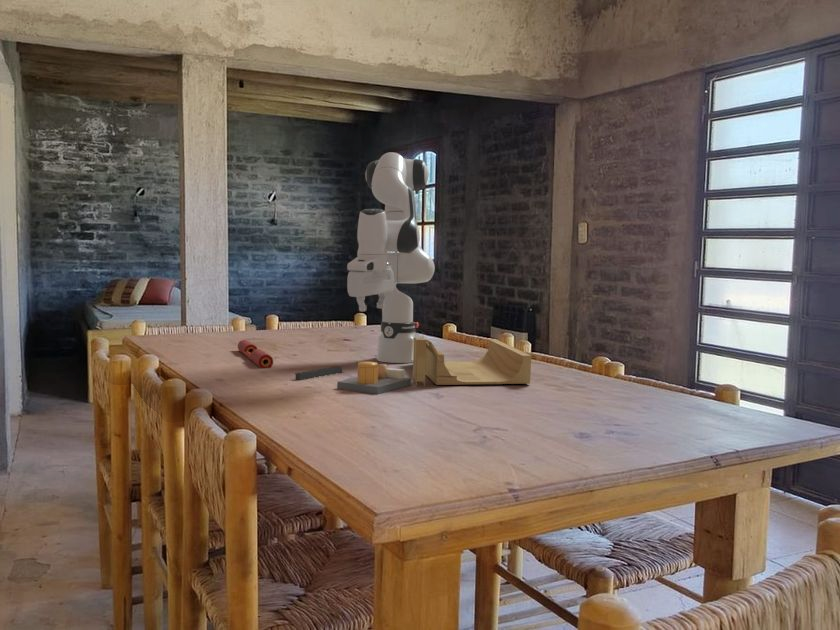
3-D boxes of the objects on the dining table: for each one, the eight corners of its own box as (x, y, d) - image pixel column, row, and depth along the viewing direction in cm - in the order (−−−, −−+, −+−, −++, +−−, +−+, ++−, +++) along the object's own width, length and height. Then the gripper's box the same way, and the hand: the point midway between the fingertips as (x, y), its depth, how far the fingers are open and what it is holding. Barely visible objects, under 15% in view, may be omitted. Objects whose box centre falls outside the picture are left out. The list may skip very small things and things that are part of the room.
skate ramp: (530, 386, 225) (532, 334, 223) (415, 388, 219) (416, 334, 218) (496, 366, 264) (497, 321, 263) (397, 366, 258) (398, 320, 257)
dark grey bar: (300, 371, 225) (290, 370, 227) (300, 380, 225) (290, 379, 227) (342, 365, 240) (332, 364, 242) (342, 373, 240) (332, 372, 242)
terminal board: (372, 379, 228) (372, 360, 228) (410, 384, 222) (411, 364, 221) (337, 388, 213) (337, 368, 212) (377, 394, 206) (378, 372, 205)
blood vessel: (237, 352, 284) (237, 339, 283) (250, 352, 286) (250, 339, 285) (258, 369, 245) (258, 354, 245) (273, 369, 247) (273, 354, 247)
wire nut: (365, 379, 217) (365, 361, 217) (381, 381, 215) (381, 362, 214) (353, 382, 213) (354, 363, 212) (370, 384, 210) (370, 365, 209)
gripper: (382, 261, 230) (381, 305, 232) (343, 264, 213) (343, 312, 215) (399, 262, 227) (398, 307, 229) (361, 265, 210) (361, 314, 212)
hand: (371, 309), depth 222 cm, fingers open, 8 cm apart
